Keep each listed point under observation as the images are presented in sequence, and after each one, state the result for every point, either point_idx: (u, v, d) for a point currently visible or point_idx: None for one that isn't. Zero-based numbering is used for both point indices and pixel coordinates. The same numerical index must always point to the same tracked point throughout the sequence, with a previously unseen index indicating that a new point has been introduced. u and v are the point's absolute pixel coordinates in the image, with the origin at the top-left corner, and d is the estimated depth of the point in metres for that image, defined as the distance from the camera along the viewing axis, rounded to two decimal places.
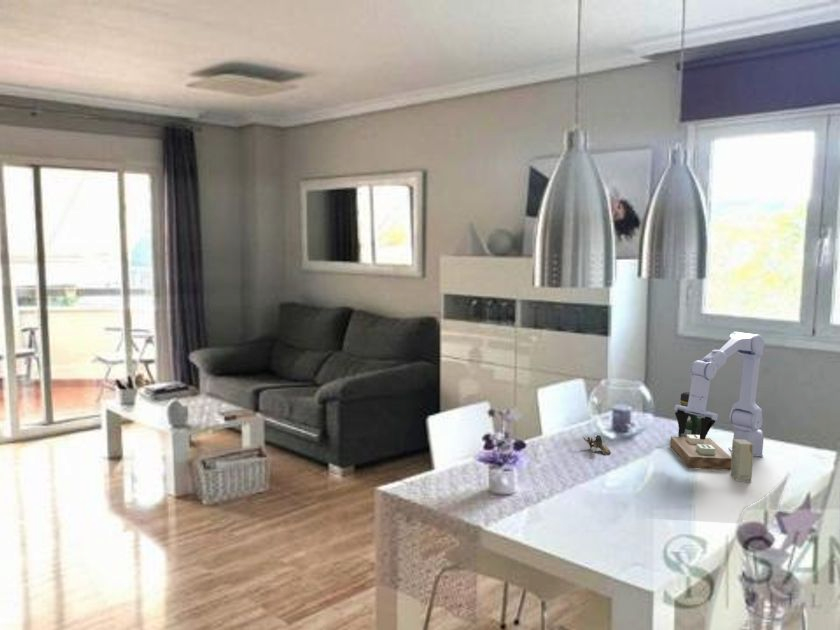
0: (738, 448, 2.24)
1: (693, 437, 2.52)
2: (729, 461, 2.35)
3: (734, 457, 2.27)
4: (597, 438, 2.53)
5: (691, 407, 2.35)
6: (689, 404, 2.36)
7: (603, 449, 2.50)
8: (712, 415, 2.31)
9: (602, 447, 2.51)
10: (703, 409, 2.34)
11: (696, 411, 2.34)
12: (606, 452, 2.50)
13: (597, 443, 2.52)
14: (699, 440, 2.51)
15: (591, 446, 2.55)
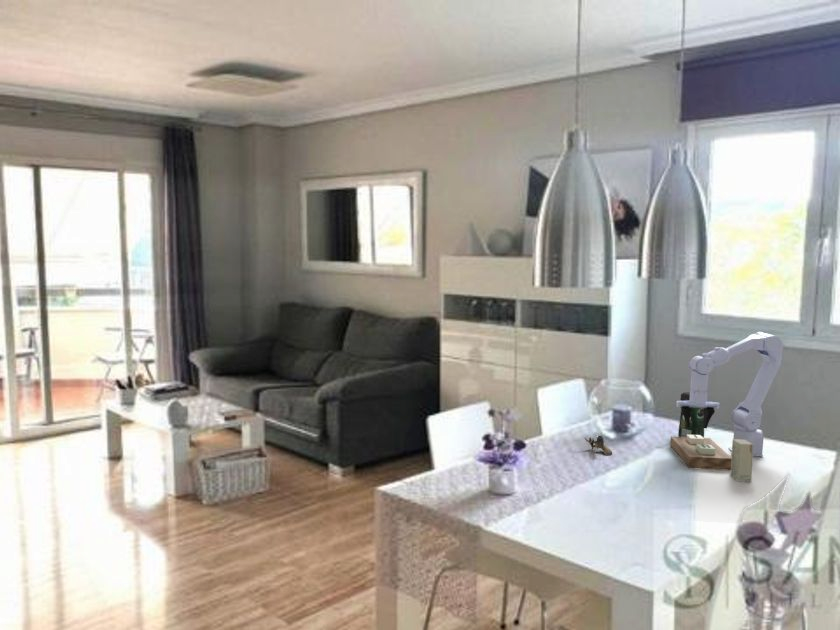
0: (738, 448, 2.24)
1: (693, 437, 2.52)
2: (729, 461, 2.35)
3: (734, 457, 2.27)
4: (599, 438, 2.52)
5: (699, 402, 2.49)
6: (696, 400, 2.49)
7: (605, 449, 2.50)
8: (717, 405, 2.50)
9: (604, 447, 2.51)
10: None
11: (704, 405, 2.49)
12: (608, 452, 2.49)
13: (599, 443, 2.51)
14: (699, 440, 2.51)
15: (593, 446, 2.54)
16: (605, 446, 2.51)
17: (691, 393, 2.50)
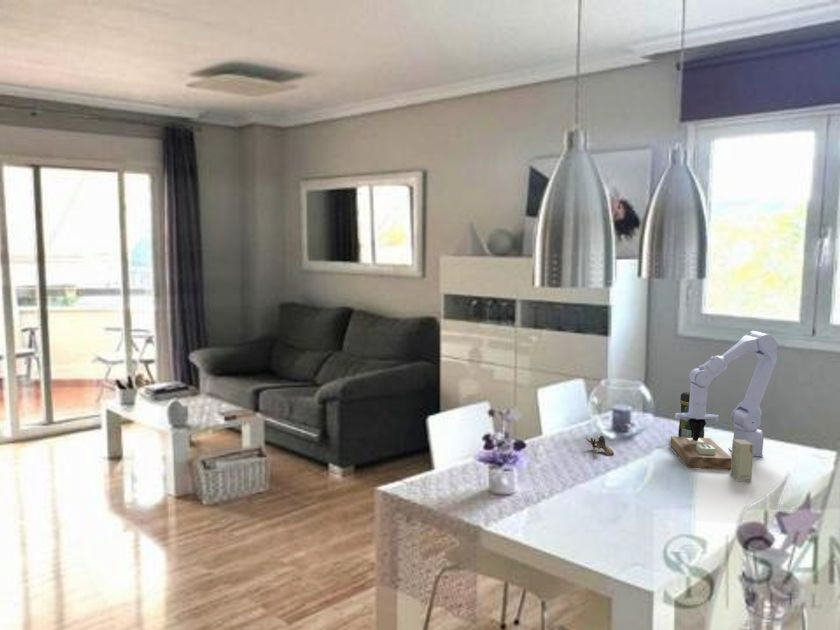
0: (738, 448, 2.24)
1: (693, 440, 2.52)
2: (729, 461, 2.35)
3: (734, 457, 2.27)
4: (600, 439, 2.52)
5: (698, 415, 2.49)
6: (695, 412, 2.49)
7: (606, 450, 2.49)
8: (716, 417, 2.50)
9: (605, 448, 2.50)
10: (705, 413, 2.51)
11: (704, 417, 2.49)
12: (609, 453, 2.49)
13: (600, 444, 2.51)
14: (699, 443, 2.51)
15: (594, 447, 2.54)
16: (607, 446, 2.51)
17: (690, 405, 2.51)
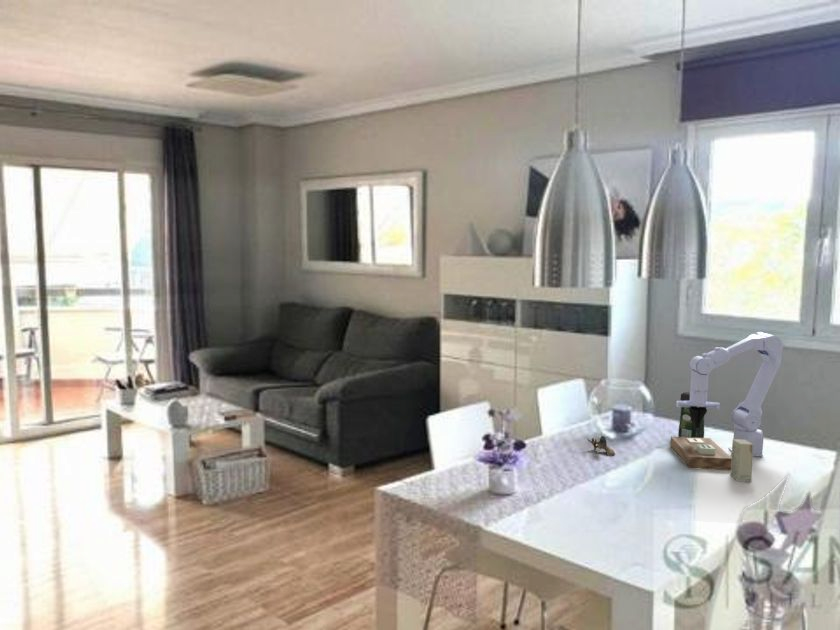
0: (738, 448, 2.24)
1: (693, 441, 2.52)
2: (729, 461, 2.35)
3: (734, 457, 2.27)
4: (601, 439, 2.52)
5: (699, 402, 2.48)
6: (696, 400, 2.49)
7: (607, 450, 2.49)
8: (717, 405, 2.50)
9: (606, 448, 2.50)
10: (706, 401, 2.51)
11: (705, 405, 2.49)
12: (610, 453, 2.48)
13: (601, 444, 2.50)
14: None
15: (595, 447, 2.54)
16: (608, 447, 2.51)
17: (691, 393, 2.50)
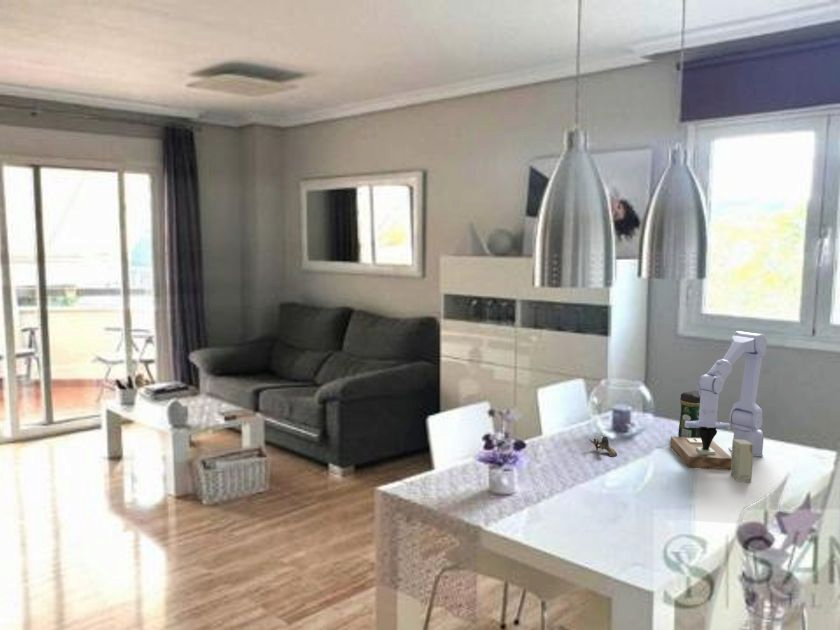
0: (738, 448, 2.24)
1: (693, 441, 2.52)
2: (729, 461, 2.35)
3: (734, 457, 2.27)
4: (603, 439, 2.51)
5: (709, 423, 2.37)
6: (706, 420, 2.38)
7: (609, 451, 2.49)
8: (728, 426, 2.39)
9: (608, 449, 2.49)
10: (716, 421, 2.39)
11: (715, 426, 2.37)
12: (613, 454, 2.48)
13: (603, 445, 2.50)
14: None
15: (597, 448, 2.53)
16: (610, 447, 2.50)
17: (700, 413, 2.39)
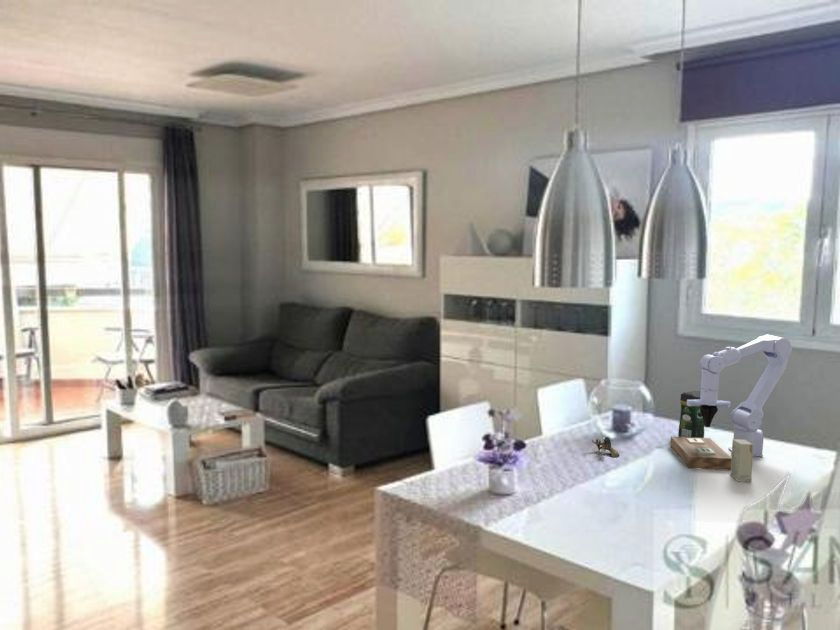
0: (738, 448, 2.24)
1: (693, 441, 2.52)
2: (729, 461, 2.35)
3: (734, 457, 2.27)
4: (605, 440, 2.51)
5: (710, 401, 2.47)
6: (707, 398, 2.48)
7: (612, 451, 2.48)
8: (728, 404, 2.49)
9: (611, 449, 2.49)
10: None
11: (716, 404, 2.48)
12: (615, 454, 2.47)
13: (606, 445, 2.49)
14: None
15: (599, 448, 2.53)
16: (612, 448, 2.49)
17: (702, 392, 2.49)
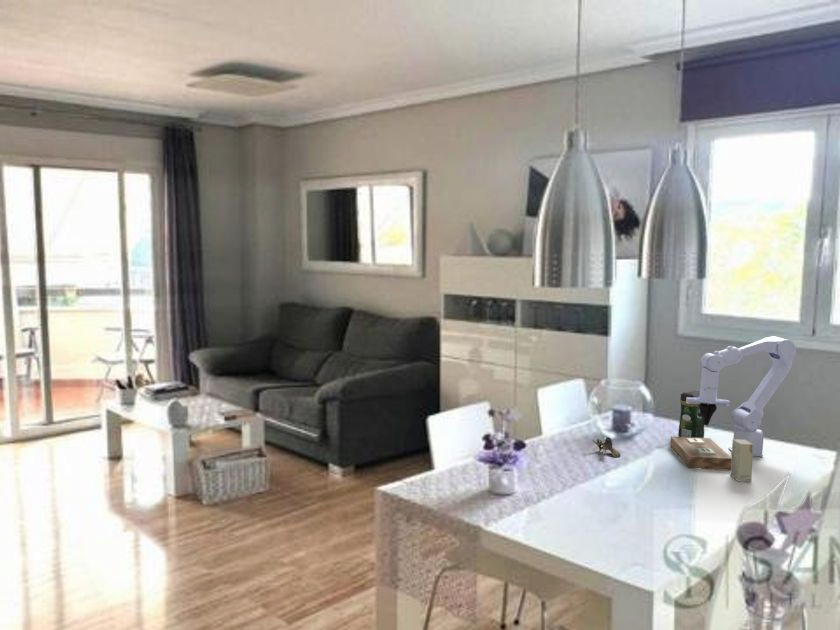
0: (738, 448, 2.24)
1: (693, 441, 2.52)
2: (729, 461, 2.35)
3: (734, 457, 2.27)
4: (607, 440, 2.50)
5: (710, 399, 2.49)
6: (706, 396, 2.49)
7: (613, 451, 2.48)
8: (727, 402, 2.50)
9: (612, 449, 2.48)
10: None
11: (715, 402, 2.49)
12: (616, 454, 2.47)
13: (607, 445, 2.49)
14: None
15: (600, 448, 2.52)
16: (613, 448, 2.49)
17: (701, 390, 2.51)
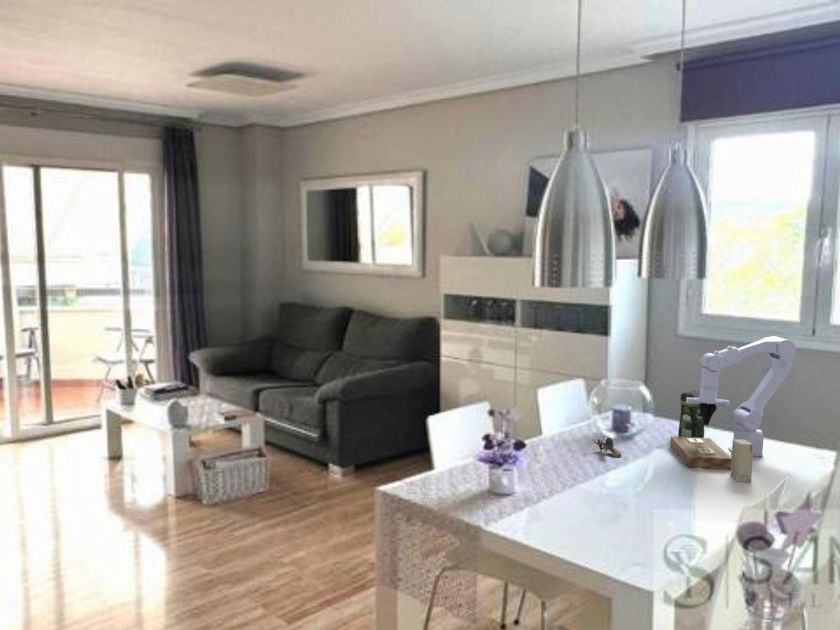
0: (738, 448, 2.24)
1: (693, 441, 2.52)
2: (729, 461, 2.35)
3: (734, 457, 2.27)
4: (607, 440, 2.50)
5: (710, 399, 2.49)
6: (706, 396, 2.49)
7: (614, 452, 2.47)
8: (727, 402, 2.50)
9: (613, 450, 2.48)
10: None
11: (715, 402, 2.49)
12: (617, 455, 2.47)
13: (608, 446, 2.49)
14: None
15: (601, 449, 2.52)
16: (614, 448, 2.49)
17: (701, 390, 2.51)
